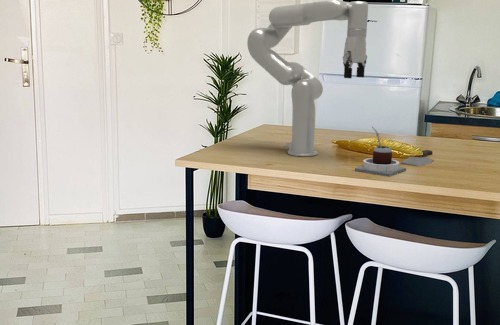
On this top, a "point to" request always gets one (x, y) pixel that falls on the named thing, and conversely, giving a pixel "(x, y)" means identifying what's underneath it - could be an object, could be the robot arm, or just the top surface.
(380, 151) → the mate gourd
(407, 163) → the cleaver
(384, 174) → the housing
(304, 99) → the robot arm
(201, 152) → the top surface
